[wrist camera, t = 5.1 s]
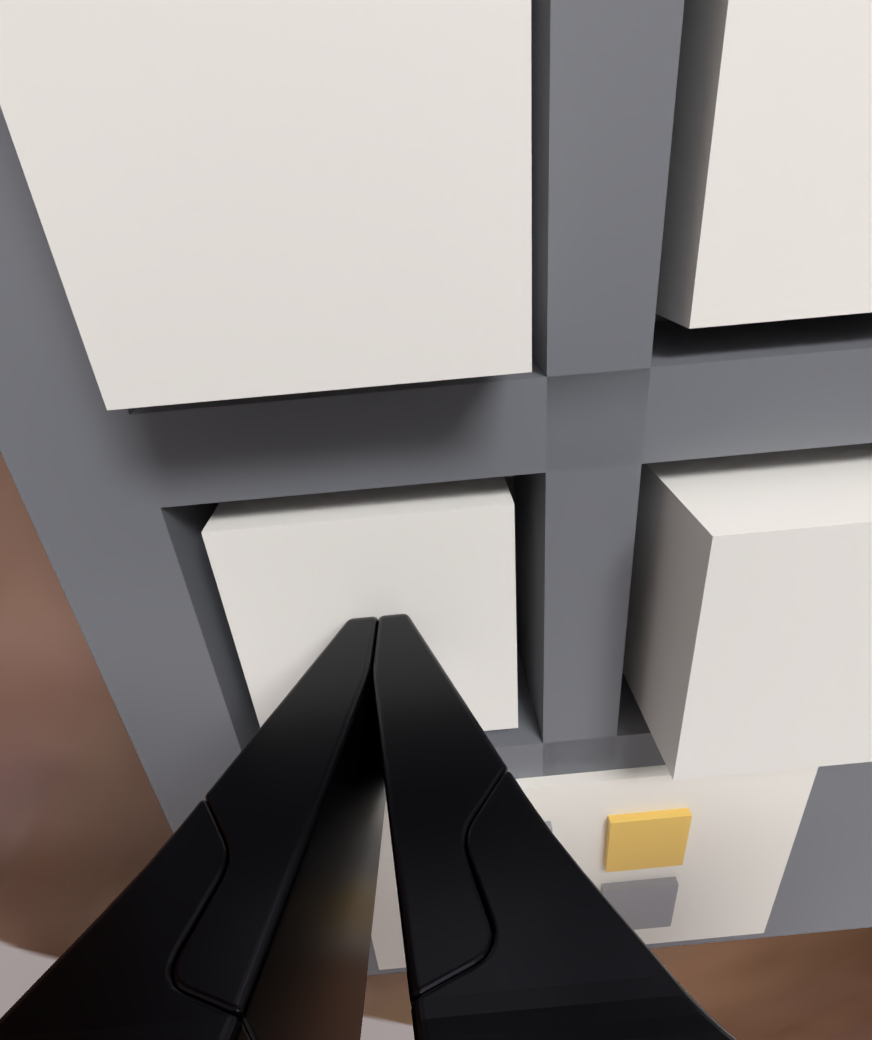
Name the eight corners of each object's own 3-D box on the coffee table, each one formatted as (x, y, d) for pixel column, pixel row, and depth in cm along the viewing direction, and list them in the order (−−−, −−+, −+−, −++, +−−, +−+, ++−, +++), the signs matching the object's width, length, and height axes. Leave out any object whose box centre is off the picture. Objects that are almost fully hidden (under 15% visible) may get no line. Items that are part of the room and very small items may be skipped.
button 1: (483, -93, 6) (530, -264, 4) (495, 323, 8) (531, 372, 6) (80, -59, 6) (-111, -212, 4) (190, 350, 8) (107, 411, 6)
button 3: (979, -92, 7) (1242, -226, 5) (885, 272, 9) (1042, 297, 7) (641, -64, 7) (749, -184, 5) (618, 296, 9) (688, 328, 7)
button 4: (905, 427, 9) (1072, 503, 7) (839, 640, 11) (952, 754, 9) (635, 451, 9) (713, 536, 7) (617, 660, 11) (673, 780, 8)
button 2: (489, 435, 10) (514, 504, 8) (496, 628, 12) (518, 728, 10) (246, 457, 10) (200, 532, 8) (293, 647, 12) (267, 751, 10)
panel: (1182, -445, 7) (2027, -1145, 3) (797, 785, 16) (904, 942, 13) (-111, -340, 6) (-681, -937, 3) (274, 834, 16) (238, 1007, 13)
